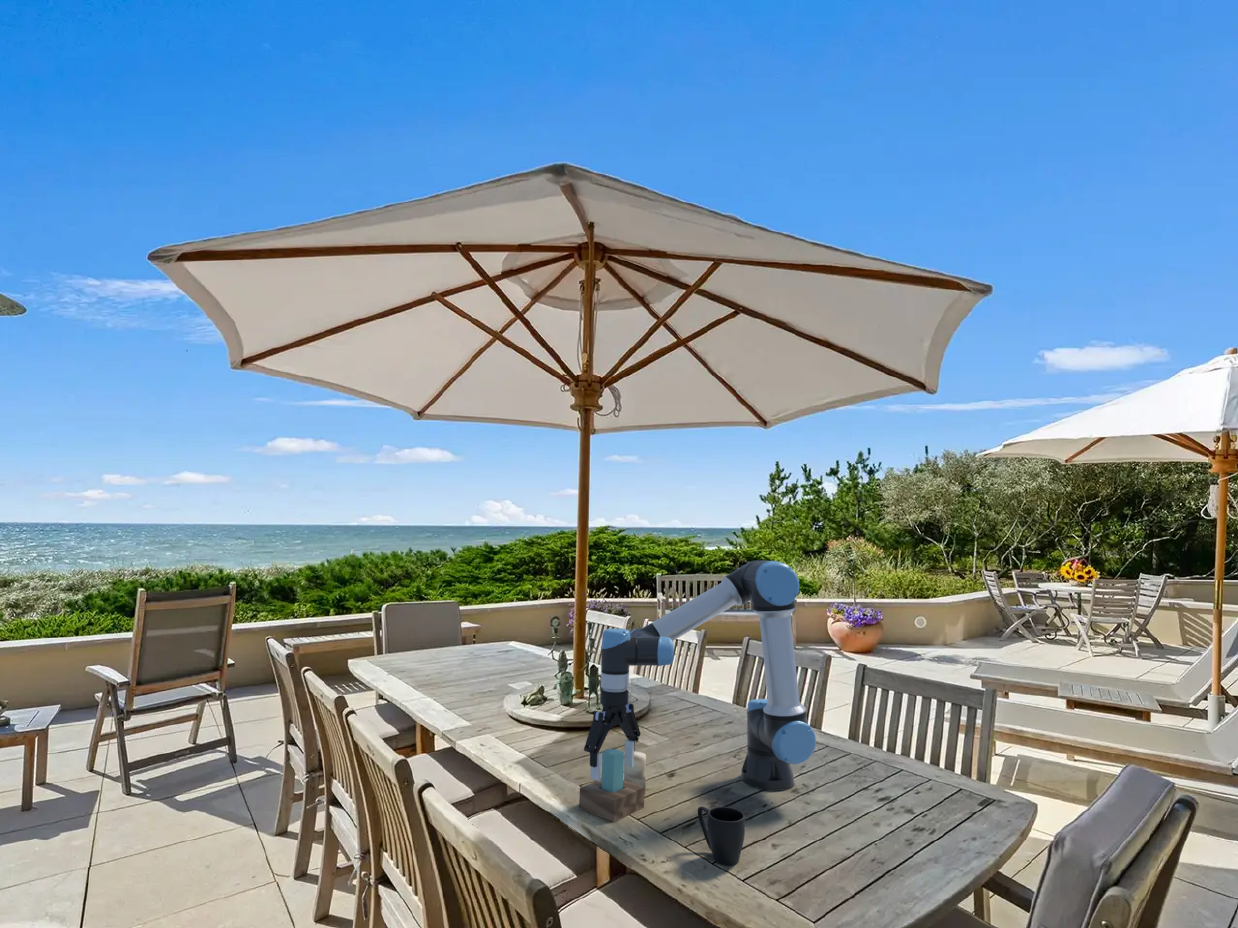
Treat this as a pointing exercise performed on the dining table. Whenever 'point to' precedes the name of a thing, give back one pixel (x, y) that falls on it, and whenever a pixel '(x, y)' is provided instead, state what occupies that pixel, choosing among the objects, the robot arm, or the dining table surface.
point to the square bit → (612, 770)
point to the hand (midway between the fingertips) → (612, 772)
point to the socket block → (611, 800)
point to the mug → (723, 833)
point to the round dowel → (636, 770)
